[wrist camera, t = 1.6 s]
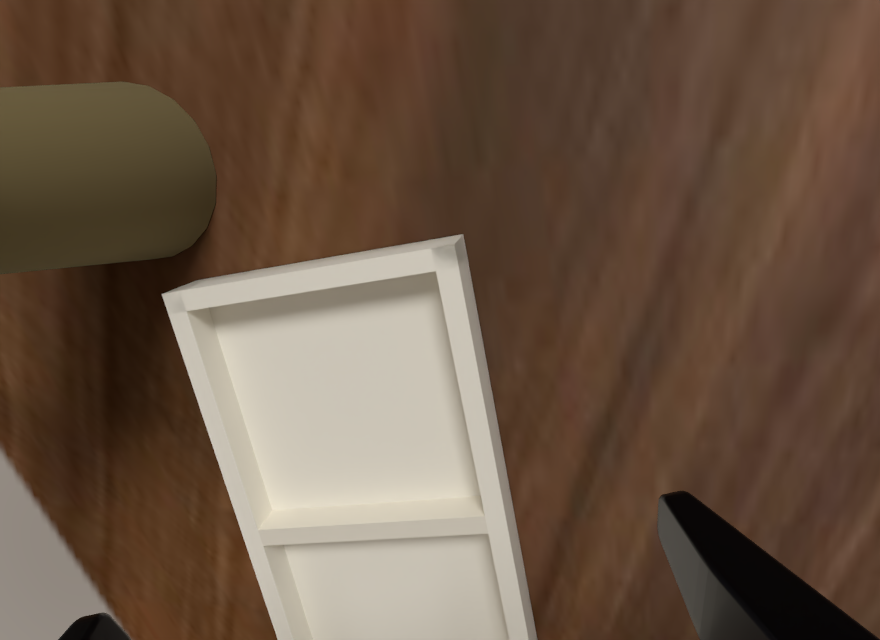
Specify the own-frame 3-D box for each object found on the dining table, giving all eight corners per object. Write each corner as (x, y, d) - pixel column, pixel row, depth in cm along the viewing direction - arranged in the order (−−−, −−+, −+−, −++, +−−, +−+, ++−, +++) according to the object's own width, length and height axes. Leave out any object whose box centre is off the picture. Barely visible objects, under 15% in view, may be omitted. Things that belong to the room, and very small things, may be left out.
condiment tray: (546, 689, 23) (546, 737, 21) (325, 688, 26) (308, 731, 24) (463, 234, 18) (454, 244, 16) (196, 280, 20) (161, 294, 19)
